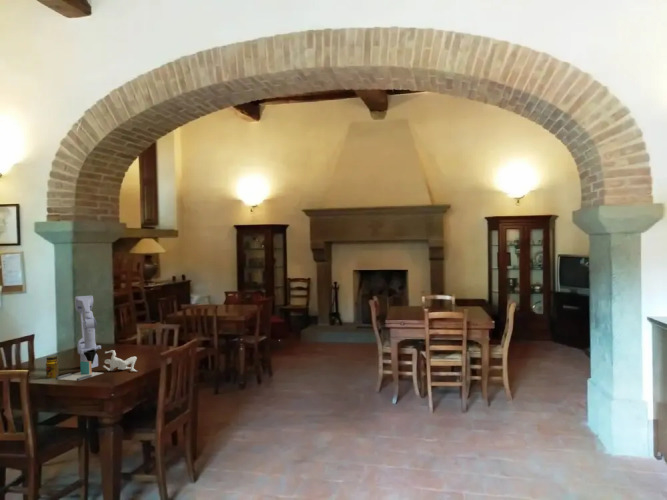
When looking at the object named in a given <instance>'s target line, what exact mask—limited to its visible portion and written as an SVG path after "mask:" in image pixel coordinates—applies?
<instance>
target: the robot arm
mask: <svg viewBox="0 0 667 500" xmlns="http://www.w3.org/2000/svg"><path fill="white" fill-rule="evenodd" d="M93 306H94V296H93V295H80V296H77V295H76V296H75V297H74V308H75V311H76V312H78V313H79V317H80V329H81V338H80V339H78V341H77V345H76V346H77V354H78V355H79V356H80V361H91V367H92V369H94V368H96V367H99V356H98V354H97V353H98V351H97V350H101V349H102V345H99V344H98V345H97V343H96V342H97V341H96V328H97V320H96V317H94V313H93V311H92V310H93Z"/></svg>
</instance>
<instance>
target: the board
mask: <svg viewBox="0 0 667 500" xmlns="http://www.w3.org/2000/svg"><path fill="white" fill-rule="evenodd" d="M102 374H103V372H97V371H95V372H94V371H92V374H81V371H80V372H75V373H71V372H70V373H65V374H62V375H59V376H58V377H56V378H55V379H56V380H62V381H63V380H66V381H75V382H76V381H77V382H78V381H82V380H85V379H89V378H92V377H96V376H99V375H102Z"/></svg>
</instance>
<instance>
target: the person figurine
mask: <svg viewBox="0 0 667 500" xmlns="http://www.w3.org/2000/svg"><path fill="white" fill-rule="evenodd" d="M108 353H109V354H110V353H112V354H111V357H110V359H109V358H108V359H107V358H106V359H104V364H107V365H109V367H108V366H106V365H102V368H104V369H106V370H107V371H108V372H109V371H110V372H113V371H114V370H115V369H116V368H117V369H118V370H120V371H121V370H122V371H124V370H129V371H130V372H138V370H136V369H135V368H134V367H135V365H136V361H137V359H138V357H137V356H131V357H129V358H126V359H125V360H124V359H121V358H119V357H117V353H116V350H113V349H111V350H109V351H104V354H108ZM129 365H130V367H129Z"/></svg>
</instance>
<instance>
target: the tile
mask: <svg viewBox="0 0 667 500" xmlns="http://www.w3.org/2000/svg"><path fill="white" fill-rule="evenodd" d="M79 362H80V363H79V364H80V365H79V366H80V372H81V374H92V372H93V371H92V370H93V368H92V367H91V361H81V360H80V361H79Z"/></svg>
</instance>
